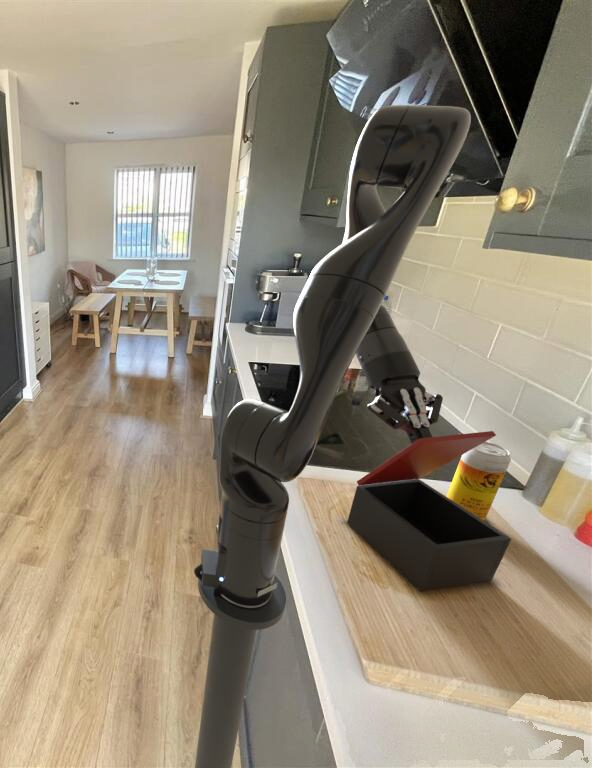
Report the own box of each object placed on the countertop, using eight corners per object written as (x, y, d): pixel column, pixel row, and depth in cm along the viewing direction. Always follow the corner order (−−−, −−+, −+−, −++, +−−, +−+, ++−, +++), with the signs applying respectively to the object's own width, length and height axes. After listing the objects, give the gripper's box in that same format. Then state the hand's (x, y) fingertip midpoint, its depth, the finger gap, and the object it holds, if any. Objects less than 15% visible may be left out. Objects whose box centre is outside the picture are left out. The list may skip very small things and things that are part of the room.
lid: (496, 435, 61) (492, 430, 62) (422, 442, 60) (419, 438, 60) (420, 478, 74) (417, 474, 75) (358, 485, 73) (356, 481, 73)
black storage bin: (491, 581, 63) (511, 538, 60) (420, 591, 62) (436, 548, 59) (405, 516, 78) (418, 478, 75) (346, 523, 77) (356, 485, 73)
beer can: (456, 524, 75) (483, 456, 70) (434, 503, 81) (458, 439, 75) (492, 526, 74) (523, 458, 69) (468, 505, 80) (494, 440, 74)
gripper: (366, 351, 68) (410, 450, 62) (435, 346, 70) (485, 442, 63) (337, 370, 75) (374, 460, 69) (400, 365, 77) (442, 453, 70)
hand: (427, 451), depth 66 cm, fingers closed
